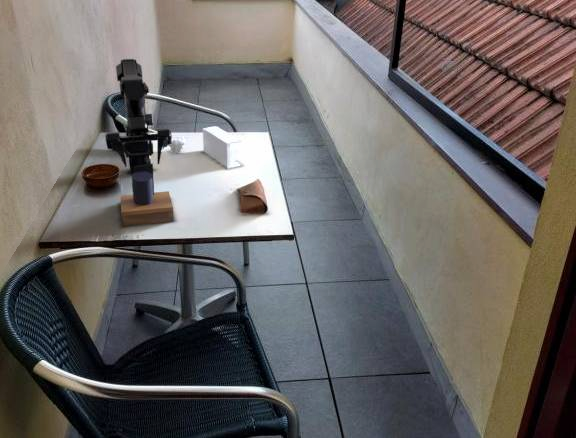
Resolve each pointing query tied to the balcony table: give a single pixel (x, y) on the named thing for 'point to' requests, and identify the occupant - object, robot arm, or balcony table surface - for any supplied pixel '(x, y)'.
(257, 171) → the balcony table surface
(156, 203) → the wooden block base
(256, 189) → the sunglasses case
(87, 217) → the balcony table surface
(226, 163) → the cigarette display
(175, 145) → the white coral
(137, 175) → the speaker
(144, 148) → the robot arm
